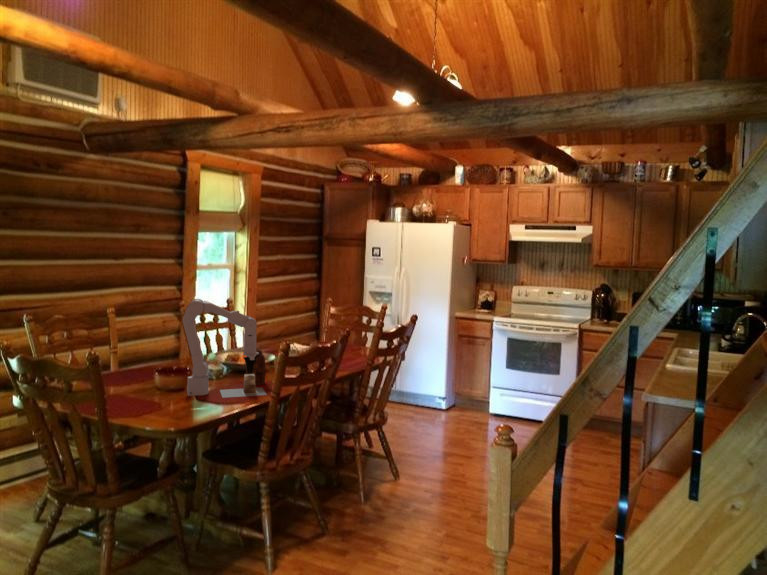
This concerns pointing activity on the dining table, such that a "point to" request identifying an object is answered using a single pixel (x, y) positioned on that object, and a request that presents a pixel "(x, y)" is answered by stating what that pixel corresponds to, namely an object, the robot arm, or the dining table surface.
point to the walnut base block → (249, 389)
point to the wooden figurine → (259, 368)
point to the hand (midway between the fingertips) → (249, 372)
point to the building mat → (241, 393)
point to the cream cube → (249, 379)
